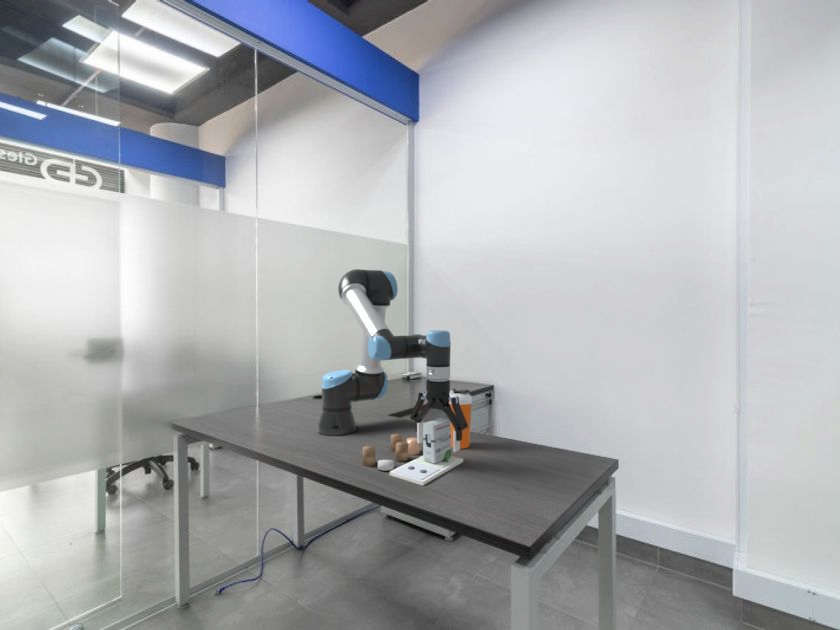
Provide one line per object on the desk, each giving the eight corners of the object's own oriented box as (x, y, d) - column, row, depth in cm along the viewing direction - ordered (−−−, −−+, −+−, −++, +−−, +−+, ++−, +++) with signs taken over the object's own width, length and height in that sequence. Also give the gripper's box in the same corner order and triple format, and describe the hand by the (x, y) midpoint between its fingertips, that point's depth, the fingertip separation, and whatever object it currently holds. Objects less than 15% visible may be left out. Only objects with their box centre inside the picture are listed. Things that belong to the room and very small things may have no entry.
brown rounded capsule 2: (393, 460, 132) (394, 444, 132) (397, 456, 136) (398, 441, 136) (406, 461, 131) (406, 446, 132) (409, 458, 135) (409, 442, 136)
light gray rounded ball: (395, 470, 124) (395, 463, 124) (379, 470, 123) (379, 463, 123) (392, 466, 129) (392, 459, 129) (376, 466, 128) (376, 459, 128)
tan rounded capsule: (359, 464, 129) (360, 448, 129) (367, 460, 133) (367, 445, 133) (370, 467, 127) (370, 450, 127) (377, 463, 131) (377, 447, 131)
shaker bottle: (470, 450, 143) (471, 392, 142) (445, 448, 144) (445, 391, 144) (472, 442, 151) (473, 387, 151) (448, 440, 153) (448, 386, 153)
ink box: (440, 453, 136) (440, 417, 136) (451, 456, 133) (452, 419, 132) (422, 460, 130) (422, 422, 129) (434, 464, 126) (434, 425, 126)
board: (389, 475, 121) (389, 470, 121) (431, 454, 139) (431, 449, 139) (422, 485, 114) (422, 480, 114) (463, 461, 132) (463, 457, 132)
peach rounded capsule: (403, 453, 140) (404, 439, 140) (411, 449, 144) (411, 436, 144) (414, 455, 137) (414, 442, 137) (422, 452, 141) (422, 439, 141)
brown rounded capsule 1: (388, 450, 142) (388, 436, 142) (395, 447, 146) (395, 433, 146) (397, 453, 140) (397, 438, 140) (404, 449, 143) (404, 435, 143)
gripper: (399, 376, 135) (399, 441, 135) (467, 385, 120) (466, 458, 121) (413, 374, 141) (413, 436, 141) (479, 381, 126) (478, 451, 127)
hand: (437, 446), depth 131 cm, fingers open, 13 cm apart
